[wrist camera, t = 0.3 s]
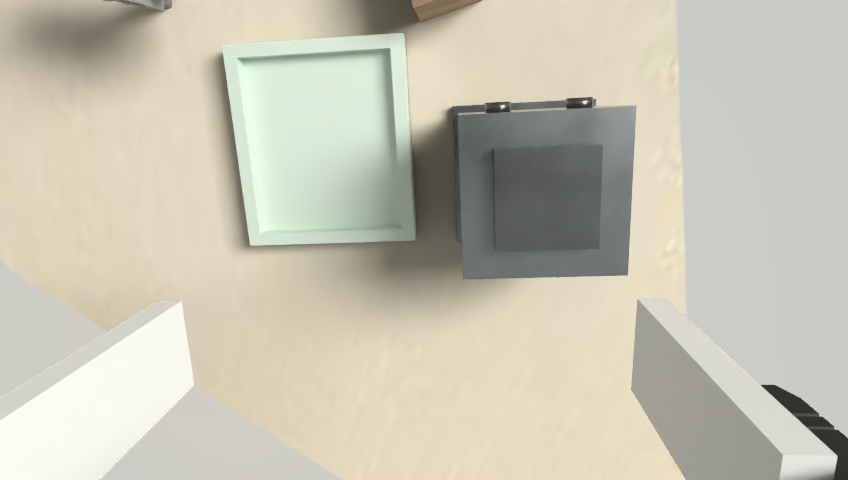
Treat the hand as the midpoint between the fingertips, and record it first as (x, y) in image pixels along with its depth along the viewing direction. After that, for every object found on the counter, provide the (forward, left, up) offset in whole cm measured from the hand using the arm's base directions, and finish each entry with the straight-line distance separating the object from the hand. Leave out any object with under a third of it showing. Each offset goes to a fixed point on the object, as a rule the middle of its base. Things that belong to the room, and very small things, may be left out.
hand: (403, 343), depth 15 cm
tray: (-4, -10, -29) cm, 31 cm away
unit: (-1, +7, -29) cm, 30 cm away
